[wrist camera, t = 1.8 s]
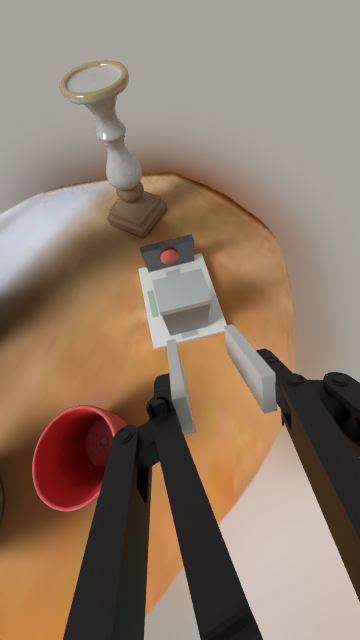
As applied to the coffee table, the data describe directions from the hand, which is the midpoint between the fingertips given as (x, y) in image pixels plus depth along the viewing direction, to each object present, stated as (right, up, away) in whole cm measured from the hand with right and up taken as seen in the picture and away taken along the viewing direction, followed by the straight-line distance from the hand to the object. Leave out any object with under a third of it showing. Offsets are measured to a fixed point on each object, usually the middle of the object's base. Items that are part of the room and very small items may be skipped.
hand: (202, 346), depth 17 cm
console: (-2, +6, +24) cm, 25 cm away
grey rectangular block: (-1, +2, +21) cm, 21 cm away
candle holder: (-12, +29, +34) cm, 46 cm away
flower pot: (-14, -18, +16) cm, 28 cm away
